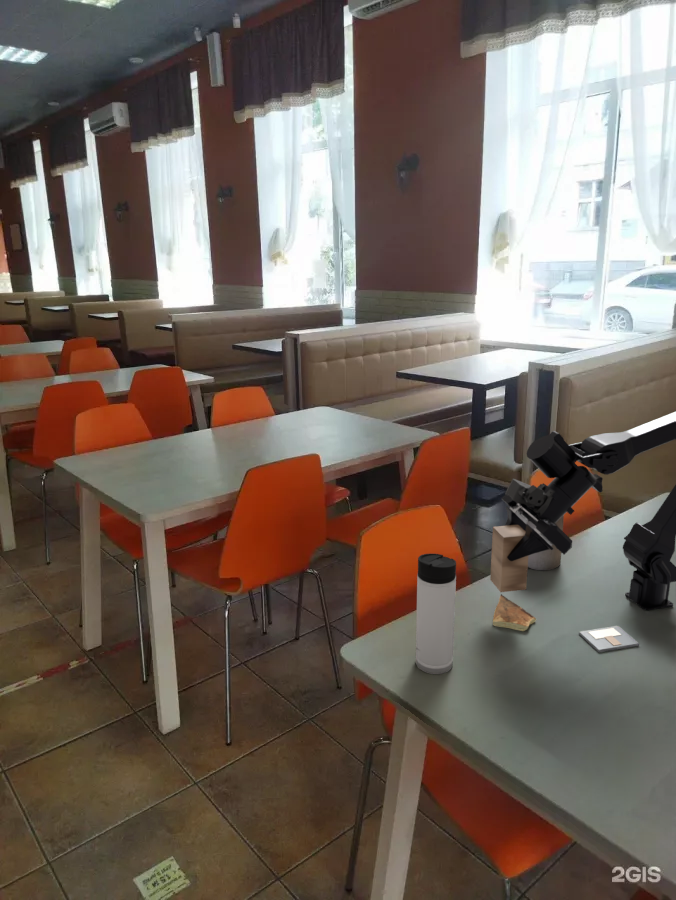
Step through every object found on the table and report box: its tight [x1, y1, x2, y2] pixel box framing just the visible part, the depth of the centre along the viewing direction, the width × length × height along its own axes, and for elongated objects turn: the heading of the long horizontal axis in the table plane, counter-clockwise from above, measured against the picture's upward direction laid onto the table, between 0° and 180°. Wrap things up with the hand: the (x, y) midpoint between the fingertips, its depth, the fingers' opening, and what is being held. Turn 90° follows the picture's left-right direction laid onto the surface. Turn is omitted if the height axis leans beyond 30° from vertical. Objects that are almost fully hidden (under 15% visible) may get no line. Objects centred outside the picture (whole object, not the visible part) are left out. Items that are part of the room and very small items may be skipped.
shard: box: [492, 594, 537, 632], centre depth 128 cm, size 11×8×2 cm
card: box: [578, 625, 640, 653], centre depth 119 cm, size 8×6×1 cm
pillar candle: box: [526, 514, 565, 571], centre depth 148 cm, size 10×10×15 cm
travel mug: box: [415, 553, 457, 675], centre depth 110 cm, size 6×7×20 cm
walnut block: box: [489, 525, 529, 593], centre depth 124 cm, size 5×5×11 cm
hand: (502, 553), depth 123 cm, fingers closed on walnut block, 5 cm apart
